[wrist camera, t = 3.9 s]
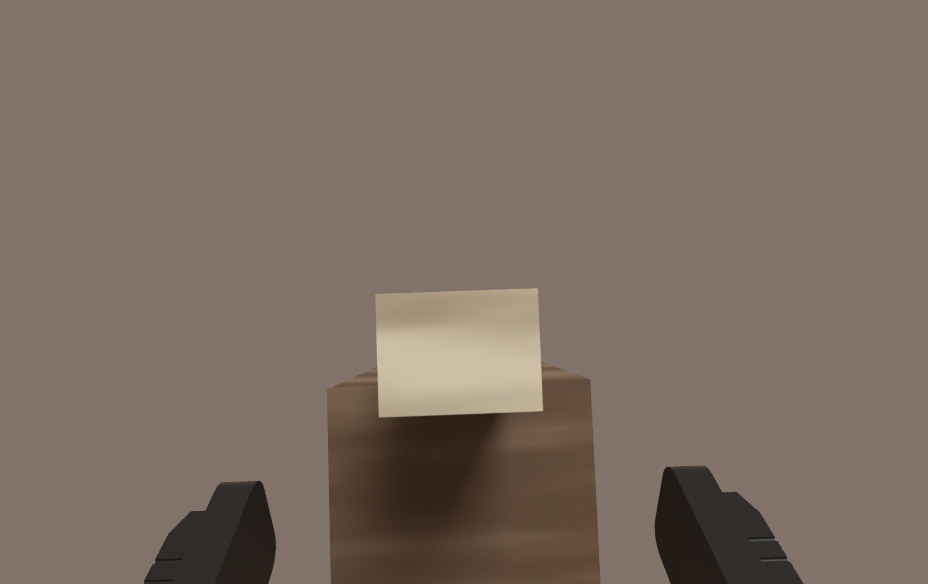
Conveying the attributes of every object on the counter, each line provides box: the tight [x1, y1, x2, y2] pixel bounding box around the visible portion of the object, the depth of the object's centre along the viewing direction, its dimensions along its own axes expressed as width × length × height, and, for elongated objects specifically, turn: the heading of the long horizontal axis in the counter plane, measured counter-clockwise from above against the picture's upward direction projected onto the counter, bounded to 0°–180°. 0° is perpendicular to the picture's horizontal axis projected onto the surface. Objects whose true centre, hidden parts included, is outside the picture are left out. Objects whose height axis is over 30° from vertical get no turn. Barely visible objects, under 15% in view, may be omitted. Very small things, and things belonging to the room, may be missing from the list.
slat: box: [376, 289, 543, 417], centre depth 25 cm, size 22×4×3 cm, turn 1°
